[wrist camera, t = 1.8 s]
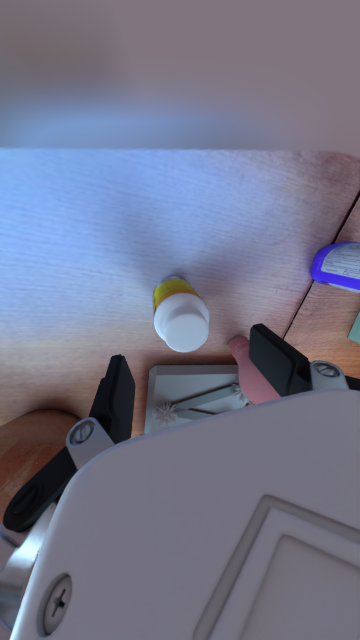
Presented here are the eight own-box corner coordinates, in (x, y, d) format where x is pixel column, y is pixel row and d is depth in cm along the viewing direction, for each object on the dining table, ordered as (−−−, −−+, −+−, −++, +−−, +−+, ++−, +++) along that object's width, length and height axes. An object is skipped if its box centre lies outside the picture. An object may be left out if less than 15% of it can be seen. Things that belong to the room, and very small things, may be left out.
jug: (115, 441, 36) (82, 631, 19) (28, 461, 35) (-96, 692, 17) (85, 386, 28) (-26, 645, 10) (-33, 408, 26) (-418, 773, 8)
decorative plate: (149, 359, 27) (149, 396, 21) (260, 359, 32) (286, 390, 26) (142, 452, 40) (141, 491, 34) (221, 443, 45) (232, 476, 39)
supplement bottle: (146, 283, 21) (143, 317, 12) (186, 269, 21) (212, 294, 12) (160, 318, 24) (167, 367, 15) (195, 306, 24) (223, 347, 15)
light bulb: (252, 355, 31) (305, 416, 20) (217, 360, 30) (253, 428, 20) (259, 322, 27) (326, 376, 17) (219, 328, 27) (264, 389, 16)
